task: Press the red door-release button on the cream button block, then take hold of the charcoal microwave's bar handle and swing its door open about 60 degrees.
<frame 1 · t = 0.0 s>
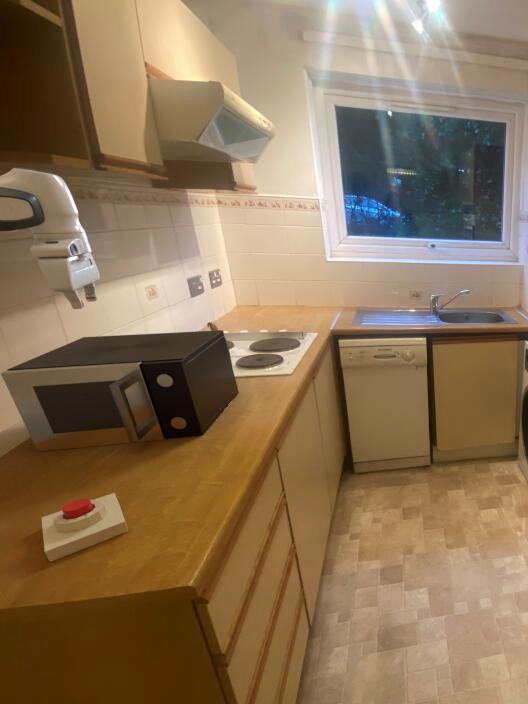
hand: (86, 304, 106), 31 cm above the countertop, tool pointing down, fingers open, 8 cm apart
vegetable: (229, 381, 143), on the countertop
release button: (77, 508, 76), point 4 cm above the countertop, slide at 0.1 cm
button block: (87, 529, 77), on the countertop
microwave door: (81, 412, 98), point 10 cm above the countertop, hinge at 0.0°
microwave: (154, 417, 118), on the countertop
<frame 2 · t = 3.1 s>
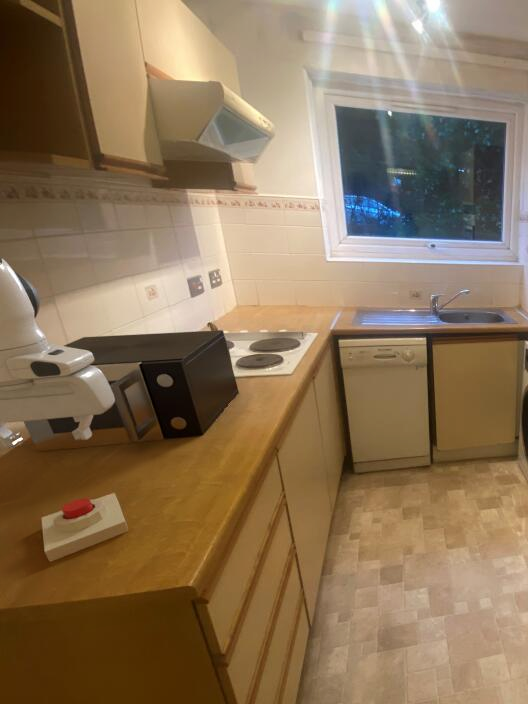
hand: (50, 442, 71), 18 cm above the countertop, tool pointing down, fingers open, 8 cm apart
nothing on the countertop moved.
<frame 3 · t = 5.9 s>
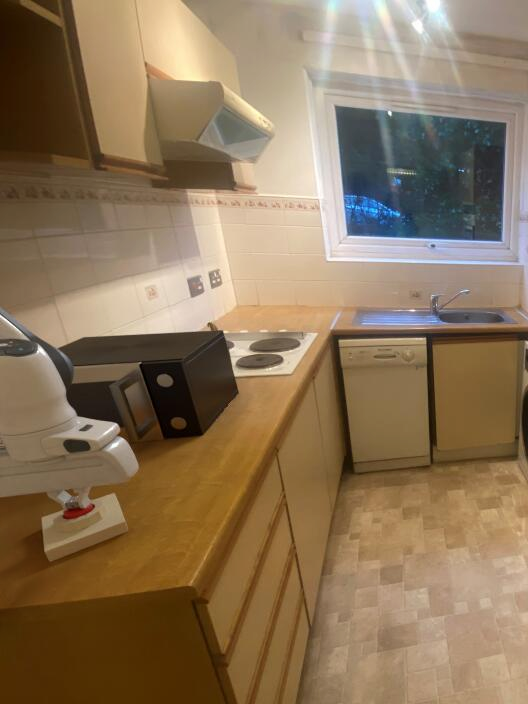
hand: (78, 507, 75), 5 cm above the countertop, tool pointing down, fingers closed, pressing on release button
release button: (79, 511, 76), point 4 cm above the countertop, slide at -0.5 cm, touching gripper
everything else where it was.
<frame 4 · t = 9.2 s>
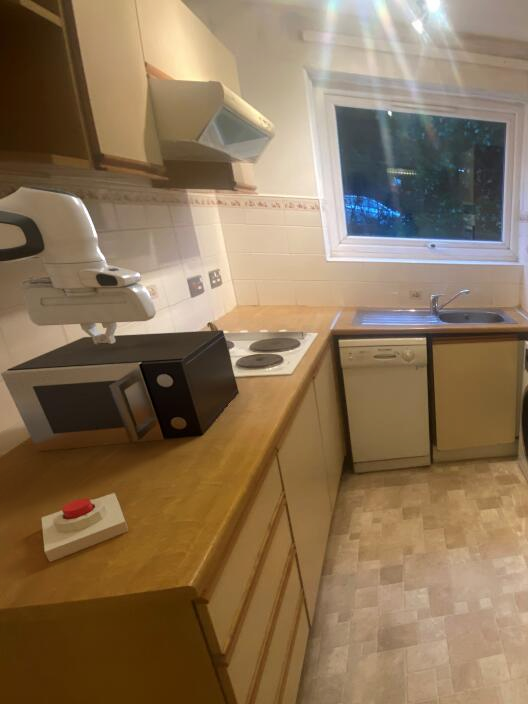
hand: (105, 343, 91), 27 cm above the countertop, tool pointing down, fingers closed
release button: (77, 508, 76), point 4 cm above the countertop, slide at 0.1 cm
everything else where it was.
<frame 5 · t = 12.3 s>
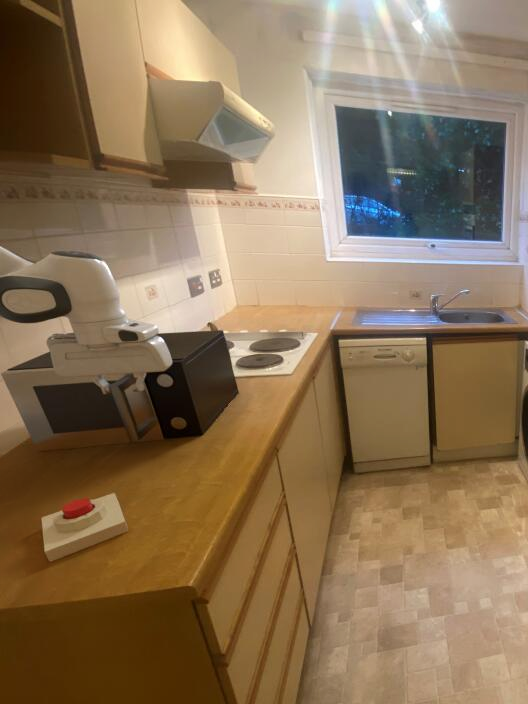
hand: (124, 391, 96), 15 cm above the countertop, tool pointing down, fingers open, 4 cm apart
microwave door: (81, 412, 98), point 10 cm above the countertop, hinge at -0.1°, touching gripper
everything else where it was.
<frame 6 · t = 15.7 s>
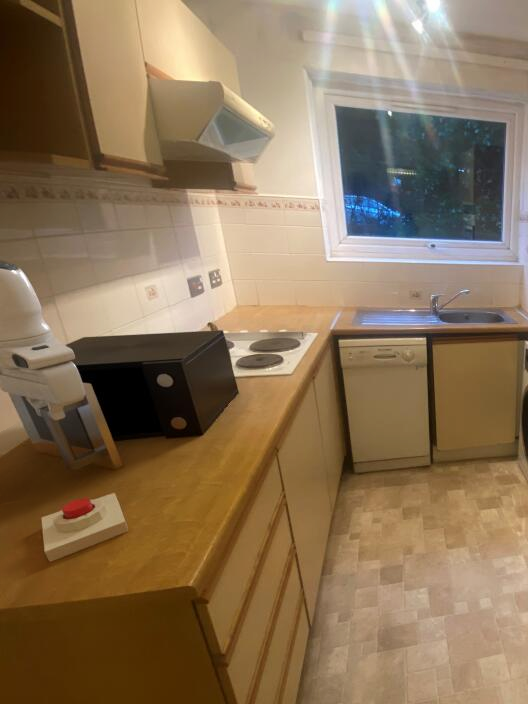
hand: (52, 417, 85), 15 cm above the countertop, tool pointing down, fingers closed
microwave door: (45, 426, 92), point 10 cm above the countertop, hinge at 30.1°, touching gripper
everything else where it was.
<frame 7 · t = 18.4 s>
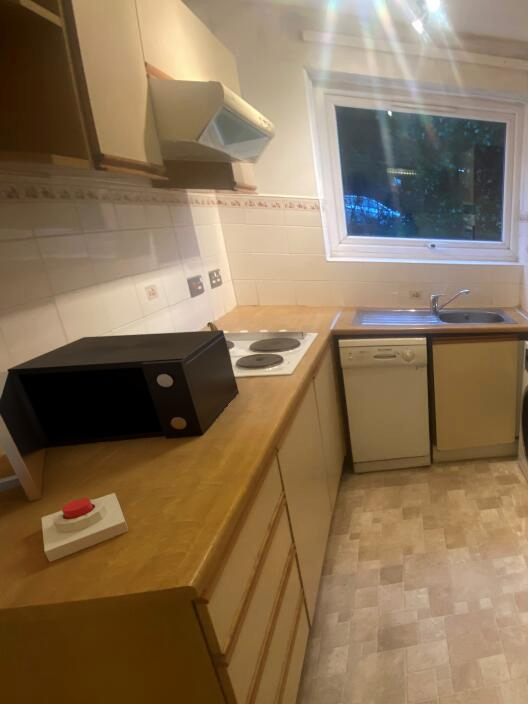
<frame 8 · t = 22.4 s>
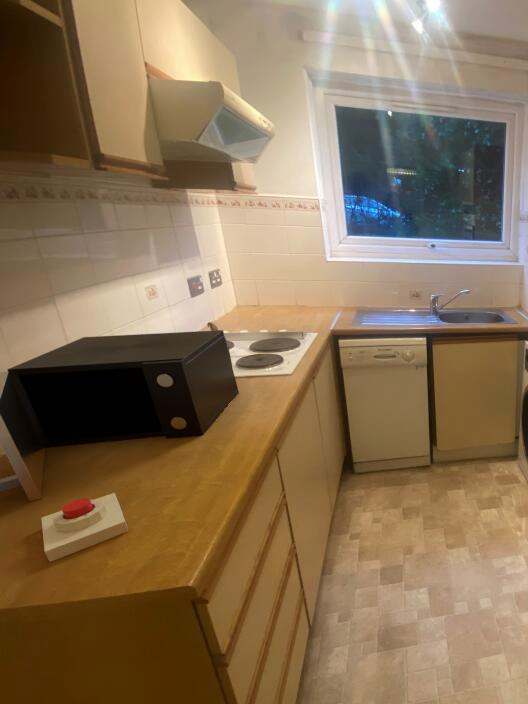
at the end: release button pushed in 1.1 cm at the most during the clip, back to where it started at the end; release button slide at 0.1 cm; microwave door at +60° (first picture: +0°) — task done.
